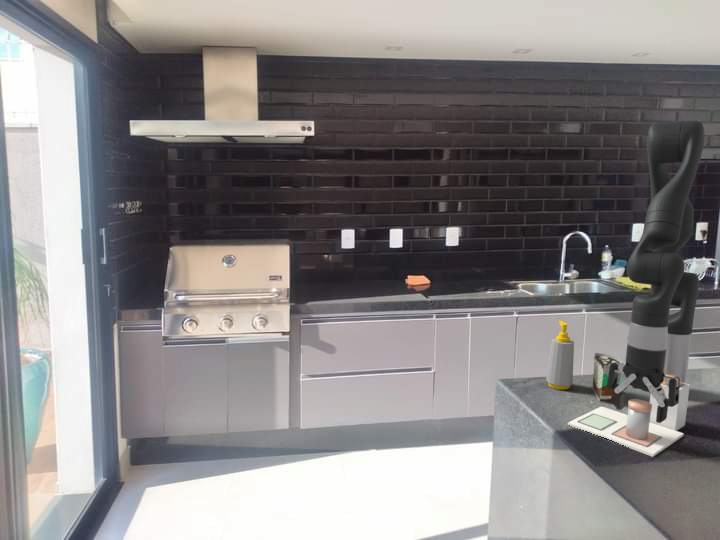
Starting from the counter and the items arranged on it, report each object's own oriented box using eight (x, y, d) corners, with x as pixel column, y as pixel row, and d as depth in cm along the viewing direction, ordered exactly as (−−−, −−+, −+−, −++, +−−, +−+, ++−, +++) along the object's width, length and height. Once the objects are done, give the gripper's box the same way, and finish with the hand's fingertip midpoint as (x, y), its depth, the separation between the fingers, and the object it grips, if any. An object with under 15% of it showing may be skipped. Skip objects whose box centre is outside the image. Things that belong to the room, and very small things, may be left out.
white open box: (657, 416, 135) (662, 377, 134) (684, 425, 131) (689, 384, 129) (647, 423, 132) (651, 382, 130) (674, 432, 127) (679, 390, 125)
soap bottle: (566, 381, 158) (571, 320, 155) (576, 390, 151) (582, 326, 148) (542, 381, 158) (547, 319, 155) (551, 390, 151) (556, 326, 148)
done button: (664, 383, 133) (665, 373, 132) (683, 388, 130) (684, 378, 129) (657, 386, 130) (658, 376, 130) (676, 392, 127) (677, 381, 127)
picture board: (600, 408, 139) (601, 405, 139) (683, 435, 125) (683, 432, 125) (567, 425, 129) (567, 422, 129) (653, 456, 115) (653, 453, 115)
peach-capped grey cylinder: (630, 429, 126) (634, 397, 125) (651, 436, 123) (655, 404, 122) (621, 434, 123) (624, 402, 122) (642, 442, 120) (646, 409, 119)
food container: (626, 406, 142) (630, 368, 140) (600, 403, 143) (604, 366, 141) (614, 389, 154) (618, 354, 152) (591, 386, 155) (594, 352, 153)
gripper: (689, 348, 117) (680, 421, 120) (621, 333, 128) (614, 401, 130) (675, 355, 112) (666, 431, 115) (606, 339, 123) (599, 409, 125)
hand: (639, 415), depth 123 cm, fingers open, 8 cm apart
